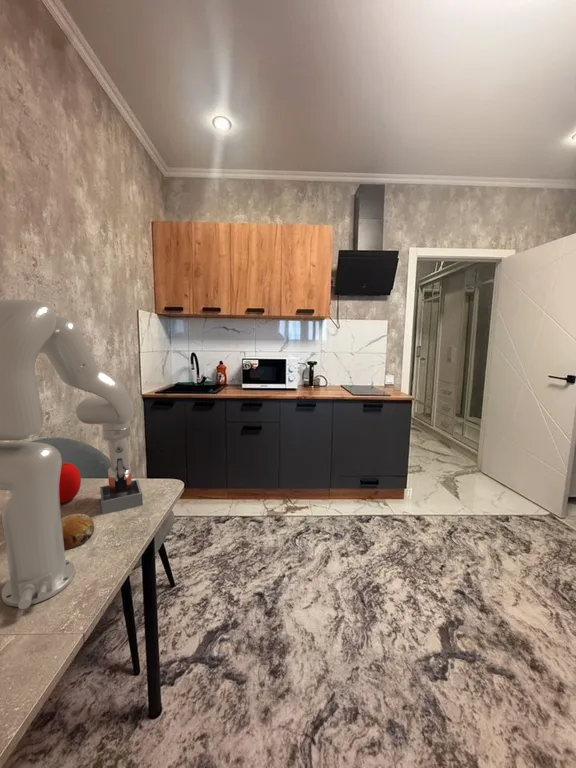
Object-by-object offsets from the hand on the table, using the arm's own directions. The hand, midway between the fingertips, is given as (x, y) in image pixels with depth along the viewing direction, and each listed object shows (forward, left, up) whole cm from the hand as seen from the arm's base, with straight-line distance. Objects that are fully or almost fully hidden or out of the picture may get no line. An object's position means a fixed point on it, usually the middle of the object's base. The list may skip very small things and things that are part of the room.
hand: (120, 486), depth 105 cm
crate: (0, 0, -5) cm, 5 cm away
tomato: (+11, +16, -5) cm, 20 cm away
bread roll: (-15, +12, -6) cm, 20 cm away
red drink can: (0, 0, -3) cm, 3 cm away
